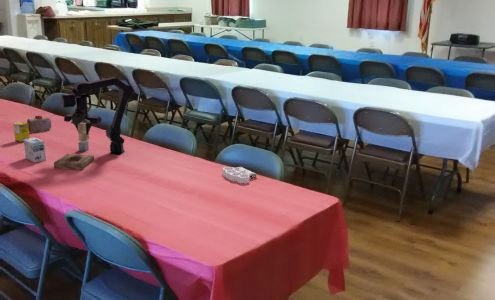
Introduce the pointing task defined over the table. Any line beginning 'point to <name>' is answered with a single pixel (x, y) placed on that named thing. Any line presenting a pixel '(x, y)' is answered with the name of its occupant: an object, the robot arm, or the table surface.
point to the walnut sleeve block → (74, 161)
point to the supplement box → (21, 131)
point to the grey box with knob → (39, 124)
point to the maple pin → (82, 132)
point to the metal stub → (83, 146)
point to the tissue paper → (238, 174)
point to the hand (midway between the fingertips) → (83, 134)
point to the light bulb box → (34, 149)
